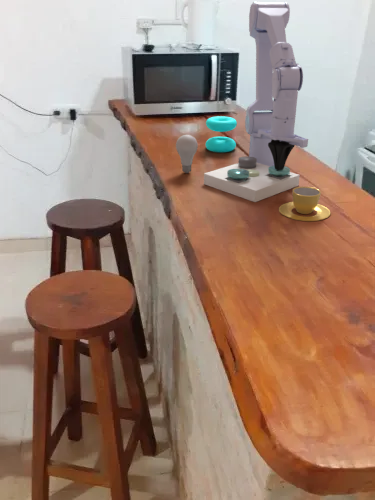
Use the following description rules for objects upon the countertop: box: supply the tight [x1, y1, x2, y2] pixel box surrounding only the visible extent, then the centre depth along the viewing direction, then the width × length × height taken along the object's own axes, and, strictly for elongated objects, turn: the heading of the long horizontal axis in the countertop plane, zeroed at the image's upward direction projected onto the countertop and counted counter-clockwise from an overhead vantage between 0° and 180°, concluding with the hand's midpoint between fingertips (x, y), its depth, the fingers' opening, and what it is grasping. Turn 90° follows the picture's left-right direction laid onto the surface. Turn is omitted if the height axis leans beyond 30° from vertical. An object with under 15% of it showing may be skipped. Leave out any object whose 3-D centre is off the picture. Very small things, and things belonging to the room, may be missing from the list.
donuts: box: [205, 115, 238, 153], centre depth 166 cm, size 10×10×10 cm
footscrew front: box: [227, 169, 249, 183], centre depth 133 cm, size 6×6×5 cm
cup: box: [278, 186, 331, 222], centre depth 120 cm, size 12×12×5 cm
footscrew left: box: [268, 165, 291, 180], centre depth 135 cm, size 6×6×5 cm
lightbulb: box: [175, 134, 199, 174], centre depth 143 cm, size 6×6×11 cm
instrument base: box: [203, 155, 300, 203], centre depth 136 cm, size 18×18×5 cm
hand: (279, 169), depth 134 cm, fingers closed, pressing on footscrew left
